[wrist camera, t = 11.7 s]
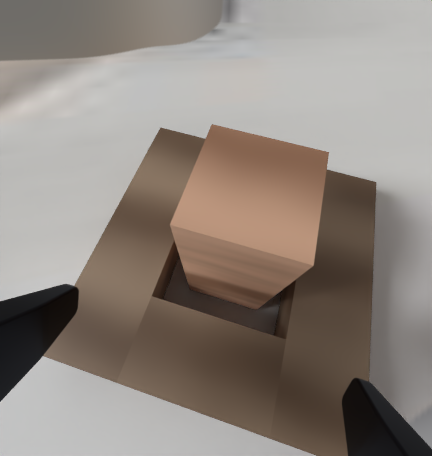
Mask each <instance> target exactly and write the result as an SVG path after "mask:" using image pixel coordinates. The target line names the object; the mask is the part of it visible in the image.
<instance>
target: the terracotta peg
mask: <svg viewBox="0 0 432 456" xmlns="http://www.w3.org/2000/svg"><path fill="white" fill-rule="evenodd" d="M328 155H329V152H325V151H321V150H317V149H313V148H308V147H304V146H300V145H296V144H292V143H288V142H283V141H279V140H275V139H271V138H267V137H263V136H258V135H254V134H250V133H246V132H242V131H238V130H233V129H229V128H225V127H221V126H217V125H213V124H212V125H211V128H210V130H209V132H208V135H207V137H206V139H205V142H204V144H203V147H202V149H201V151H200V154H199V156H198V159H197V161H196V163H195V166H194V168H193V171H192V173H191V175H190V178H189V180H188V182H187V185H186V187H185V190H184V192H183V194H182V197H181V199H180V202H179V204H178V206H177V209H176V211H175V213H174V216H173V218H172V221H171V223H170V227H171V230H172V233H173V237H174V240H175V243H176V246H177V249H178V253H179V256H180V259H181V262H182V266H183V269H184V272H185V275H186V278H187V282H188V285H189V288H190V290H193V291H196V292H199V293H203V294H206V295H209V296H212V297H216V298H219V299H222V300H225V301H229V302H232V303H235V304H238V305H242V306H245V307H248V308H251V309H255V310H257V309H258V308H260V307H261V306H262V305H264V304H265V303H266V302H267V301H269V300H270V299H271V298H273V297H274V296H275V295H276V294H278V293H279V292H280V291H282V290H283V289H284V288H285V287H287V286H288V285H289V284H291V283H292V282H293V281H294V280H296V279H297V278H298V277H300V276H301V275H302V274H303V273H305V272H306V271H307V270H309V269H310V268H311V267H313V266H314V259H315V252H316V244H317V237H318V230H319V222H320V215H321V207H322V200H323V192H324V185H325V178H326V170H327V163H328Z"/></svg>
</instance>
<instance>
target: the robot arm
mask: <svg viewBox="0 0 432 456" xmlns="http://www.w3.org/2000/svg"><path fill="white" fill-rule="evenodd" d="M78 301H79V289H78V288H77V287H75V286H72V285H69V284H63V285H59V286H56V287H52V288H48V289H45V290H41V291H37V292H33V293H30V294H26V295H22V296H19V297H15V298H11V299H7V300H4V301H0V402H1V400H2V399H3V398H4V397H5V396H6V395H7V394H8V393H9V392H10V391H11V390H12V389H13V388H14V387H15V385H16V384H17V383H18V382H19V381H20V380H21V379H22V378H23V377H24V376H25V375H26V374H27V373H28V372H29V370H30V369H31V368H32V367H33V366H34V365H35V364H36V363H37V362H38V361H39V360H40V359H41V357H42V356H43V355H44V354H45V353H46V351H47V350H48V349H49V348H50V346H51V345H52V344H53V343H54V341H55V340H56V339H57V337H58V336H59V335H60V334H61V332H62V331H63V330H64V328H65V327H66V326H67V325H68V323H69V322H70V321H71V319H72V318H73V317H74V316H75V314H76V312H77V310H78ZM342 410H343V418H344V427H345V435H346V443H347V452H348V456H432V449H431V448H430V447H429V446H428V444H427V443H425V441H424V440H423V439H422V438H421V437H420V436H419V435H418V434H417V433H416V431H415V430H414V429H413V428H412V427H411V426H410V425H409V424H408V423H407V422H406V421H405V419H404V418H403V417H402V416H401V415H400V414H399V413H398V412H397V411H396V410H395V409H394V408H393V406H392V405H391V404H390V403H389V402H388V401H387V400H386V399H385V398H384V397H383V396H382V395H381V393H380V392H379V391H378V390H377V389H376V388H375V387H374V386H373V385H372V384H371V383H370V382H368V381H366V380H363V379H360V378H354V379H352V381H351V382H350V384H349V386H348V388H347V389H346V391H345V393H344V395H343V397H342Z"/></svg>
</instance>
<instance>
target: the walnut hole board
mask: <svg viewBox="0 0 432 456" xmlns="http://www.w3.org/2000/svg"><path fill="white" fill-rule="evenodd" d="M204 142H205V139H203V138H199V137H196V136H192V135H188V134H184V133H180V132H176V131H172V130H168V129H164V128H160V130H159V132H158V133H157V135H156V137H155V139H154V141H153V143H152V144H151V146H150V148H149V150H148V152H147V154H146V155H145V157H144V159H143V161H142V163H141V165H140V166H139V168H138V170H137V172H136V174H135V176H134V177H133V179H132V181H131V183H130V185H129V187H128V188H127V190H126V192H125V194H124V196H123V198H122V199H121V201H120V203H119V205H118V207H117V209H116V210H115V212H114V214H113V216H112V218H111V220H110V221H109V223H108V225H107V227H106V229H105V231H104V232H103V234H102V236H101V238H100V240H99V242H98V244H97V245H96V247H95V249H94V251H93V253H92V255H91V256H90V258H89V260H88V262H87V264H86V266H85V267H84V269H83V271H82V273H81V275H80V277H79V278H78V280H77V282H76V284H75V287H77V288H78V289H79V301H78V310H77V312H76V314H75V316H74V317H73V318H72V319H71V321H70V322H69V323H68V325H67V326H66V327H65V328H64V330H63V331H62V332H61V334H60V335H59V336H58V337H57V339H56V340H55V341H54V343H53V344H52V345H51V346H50V348H49V349H48V350H47V351H46V353H45V354H44V355H43V356H45V357H47V358H50V359H53V360H56V361H58V362H61V363H64V364H67V365H69V366H72V367H75V368H78V369H80V370H83V371H86V372H89V373H91V374H94V375H97V376H100V377H102V378H105V379H108V380H111V381H113V382H116V383H119V384H122V385H124V386H127V387H130V388H133V389H135V390H138V391H141V392H144V393H146V394H149V395H152V396H155V397H157V398H160V399H163V400H166V401H168V402H171V403H174V404H177V405H179V406H182V407H185V408H188V409H190V410H193V411H196V412H199V413H201V414H204V415H207V416H210V417H212V418H215V419H218V420H221V421H223V422H226V423H229V424H232V425H234V426H237V427H240V428H242V429H245V430H248V431H251V432H253V433H256V434H259V435H262V436H264V437H267V438H270V439H273V440H275V441H278V442H281V443H284V444H286V445H289V446H292V447H295V448H297V449H300V450H303V451H306V452H308V453H311V454H314V455H317V456H348V452H347V443H346V435H345V427H344V418H343V410H342V397H343V395H344V393H345V391H346V389H347V388H348V386H349V384H350V382H351V381H352V379H354V378H360V379H363V380H366V381H368V382H369V365H370V338H371V310H372V283H373V256H374V229H375V202H376V182H373V181H369V180H365V179H361V178H358V177H354V176H350V175H346V174H342V173H338V172H334V171H330V170H326V178H325V185H324V192H323V200H322V207H321V215H320V222H319V230H318V237H317V244H316V252H315V259H314V266H313V267H311V268H310V269H309V270H307V271H306V272H305V273H303V274H302V275H301V276H300V277H298V278H297V279H296V280H294V281H293V282H292V283H291V284H289V285H288V286H287V287H285V288H284V289H283V290H282V295H281V300H280V305H279V311H278V316H277V321H276V327H275V332H274V335H270V334H267V333H264V332H261V331H258V330H255V329H252V328H249V327H246V326H243V325H240V324H236V323H233V322H230V321H227V320H224V319H221V318H218V317H215V316H212V315H209V314H206V313H202V312H199V311H196V310H193V309H190V308H187V307H184V306H181V305H178V304H175V303H171V302H168V301H165V300H163V297H164V294H165V292H166V289H167V287H168V284H169V281H170V279H171V276H172V274H173V271H174V269H175V266H176V263H177V261H178V258H179V253H178V249H177V246H176V243H175V240H174V237H173V233H172V230H171V227H170V223H171V221H172V218H173V216H174V213H175V211H176V209H177V206H178V204H179V202H180V199H181V197H182V194H183V192H184V190H185V187H186V185H187V182H188V180H189V178H190V175H191V173H192V171H193V168H194V166H195V163H196V161H197V159H198V156H199V154H200V151H201V149H202V147H203V144H204Z"/></svg>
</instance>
